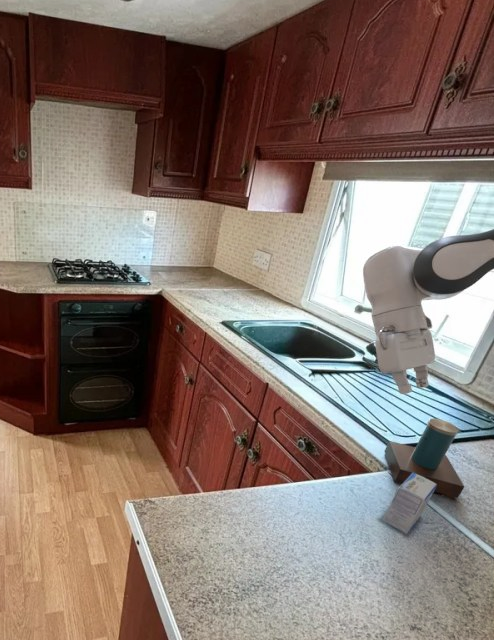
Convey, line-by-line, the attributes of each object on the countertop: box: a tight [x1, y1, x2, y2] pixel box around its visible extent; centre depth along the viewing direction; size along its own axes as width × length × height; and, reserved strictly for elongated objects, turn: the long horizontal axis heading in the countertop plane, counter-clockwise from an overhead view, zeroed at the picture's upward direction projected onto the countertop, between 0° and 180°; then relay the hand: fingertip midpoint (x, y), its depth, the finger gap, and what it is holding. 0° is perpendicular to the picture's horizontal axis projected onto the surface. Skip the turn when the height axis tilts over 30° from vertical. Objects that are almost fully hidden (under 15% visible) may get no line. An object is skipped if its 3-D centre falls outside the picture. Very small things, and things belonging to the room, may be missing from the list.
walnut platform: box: [384, 440, 465, 500], centre depth 93 cm, size 12×12×4 cm
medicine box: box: [382, 473, 437, 535], centre depth 78 cm, size 8×4×9 cm, turn 129°
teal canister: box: [411, 418, 460, 469], centre depth 90 cm, size 5×5×10 cm
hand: (414, 390), depth 83 cm, fingers open, 8 cm apart
